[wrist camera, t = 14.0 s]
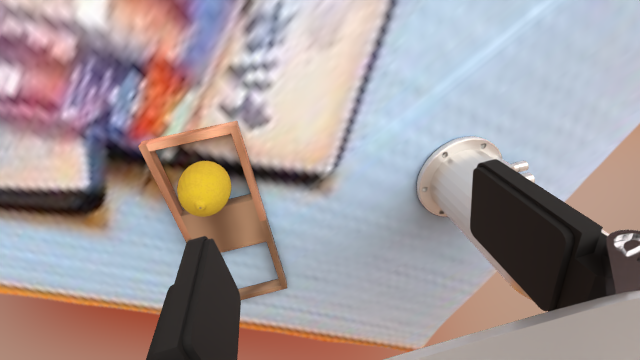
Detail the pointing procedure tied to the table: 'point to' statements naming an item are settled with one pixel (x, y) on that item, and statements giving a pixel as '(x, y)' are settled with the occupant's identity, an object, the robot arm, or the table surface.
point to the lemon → (204, 188)
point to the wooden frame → (233, 219)
